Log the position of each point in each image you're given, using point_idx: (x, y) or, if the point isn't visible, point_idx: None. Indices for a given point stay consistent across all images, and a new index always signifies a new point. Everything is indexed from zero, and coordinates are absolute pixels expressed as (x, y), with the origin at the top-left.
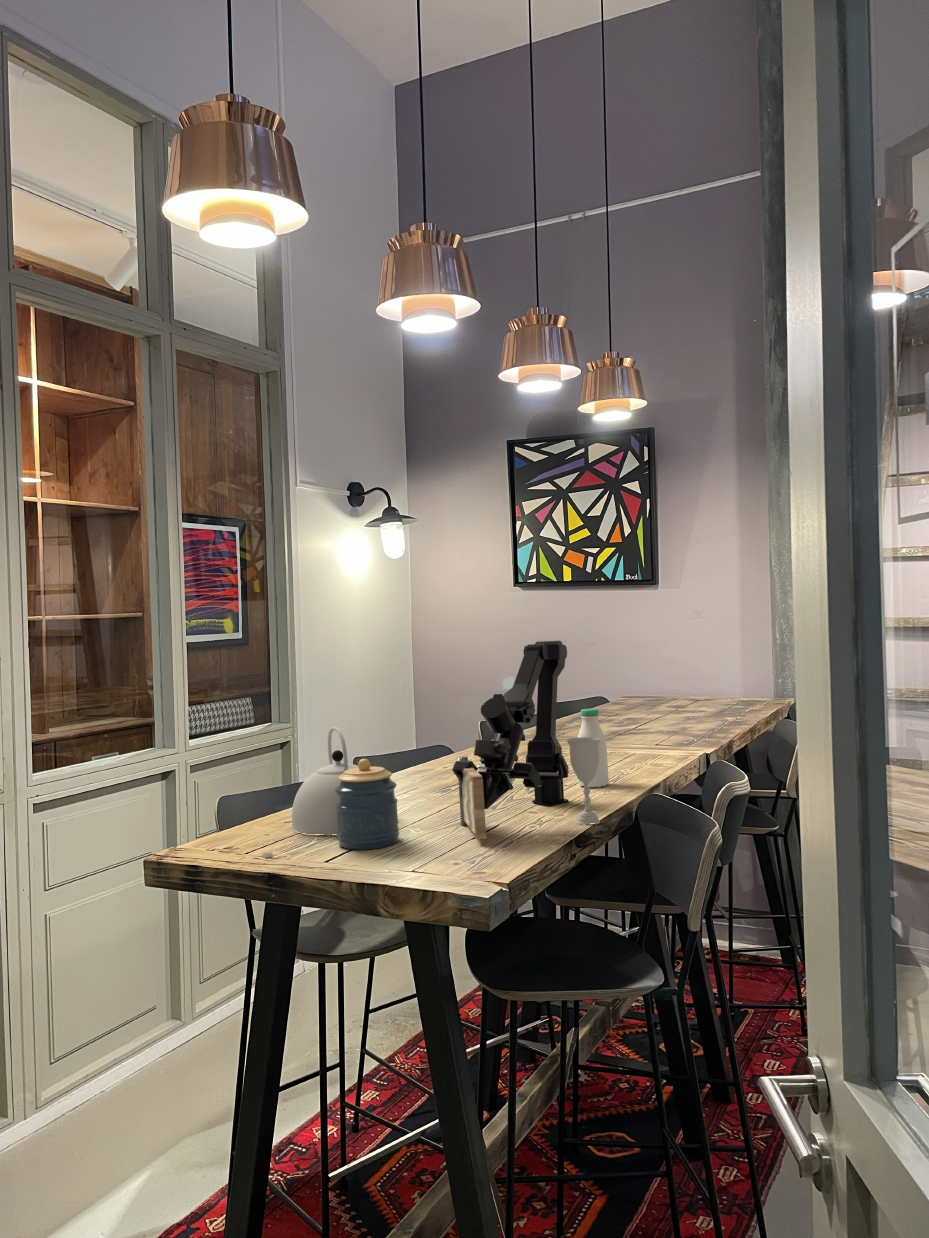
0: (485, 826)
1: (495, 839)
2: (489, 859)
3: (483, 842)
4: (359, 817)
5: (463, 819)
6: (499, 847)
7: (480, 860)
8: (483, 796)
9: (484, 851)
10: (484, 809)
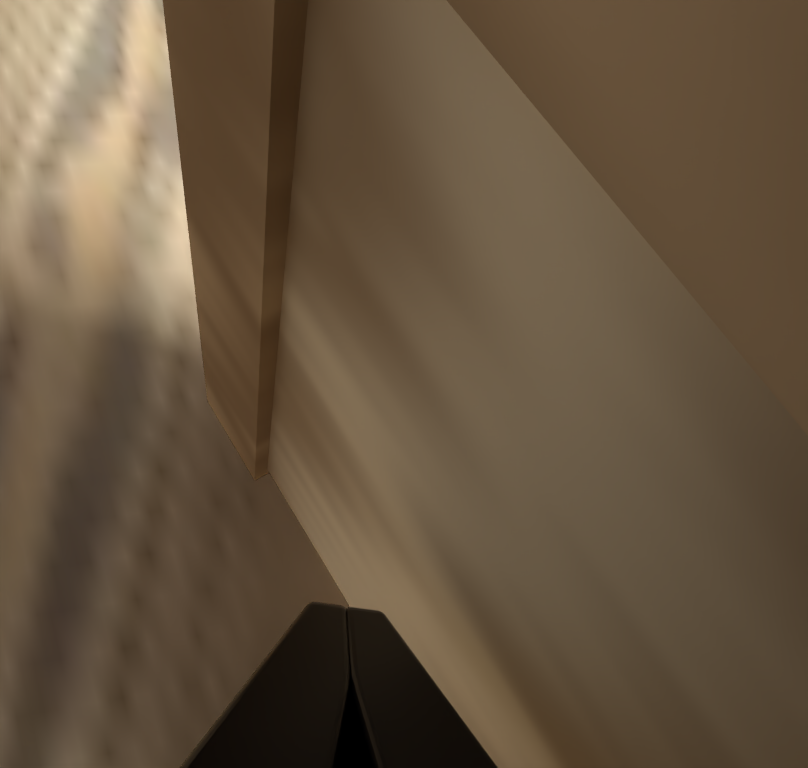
0: (202, 341)
1: (170, 632)
2: (53, 25)
3: (268, 490)
4: None
5: None
6: (44, 333)
7: (119, 6)
8: (174, 29)
9: (158, 209)
10: (188, 211)
